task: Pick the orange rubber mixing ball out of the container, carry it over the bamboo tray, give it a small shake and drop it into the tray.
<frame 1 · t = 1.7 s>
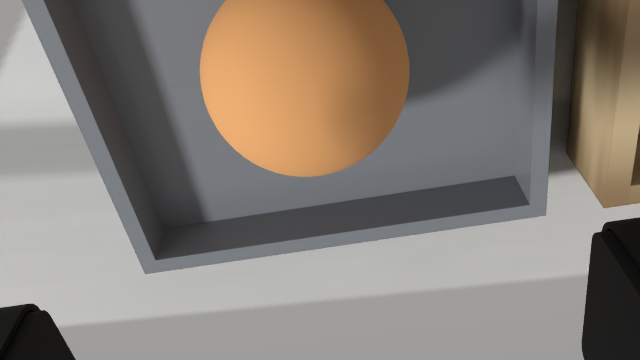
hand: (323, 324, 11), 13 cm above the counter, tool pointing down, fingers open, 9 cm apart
container: (304, 28, 21), on the counter
ball: (304, 35, 20), point 1 cm above the counter, touching container
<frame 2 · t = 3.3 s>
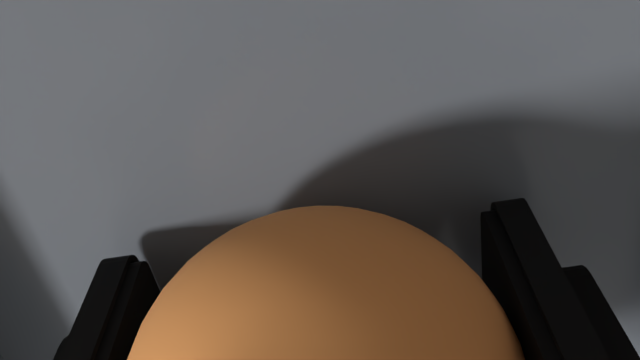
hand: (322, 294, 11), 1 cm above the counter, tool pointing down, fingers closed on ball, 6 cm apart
container: (320, 249, 12), on the counter
ball: (321, 269, 12), point 1 cm above the counter, touching container, gripper
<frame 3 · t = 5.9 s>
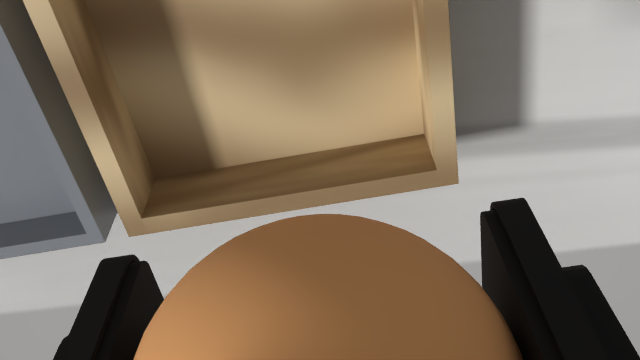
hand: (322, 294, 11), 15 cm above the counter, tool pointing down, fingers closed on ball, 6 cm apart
tray: (256, 20, 24), on the counter
ball: (322, 276, 12), point 15 cm above the counter, touching gripper
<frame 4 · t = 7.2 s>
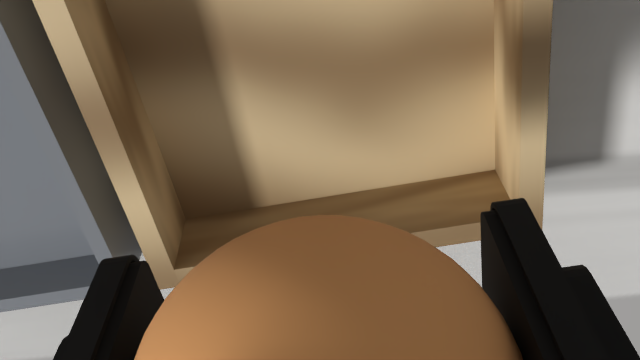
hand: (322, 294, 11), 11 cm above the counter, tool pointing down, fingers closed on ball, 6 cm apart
tray: (310, 41, 20), on the counter
ball: (322, 276, 12), point 11 cm above the counter, touching gripper
when the fingers open (4 cm above the counter, at t = 8.5 s): ball drops 2 cm, resting on tray.
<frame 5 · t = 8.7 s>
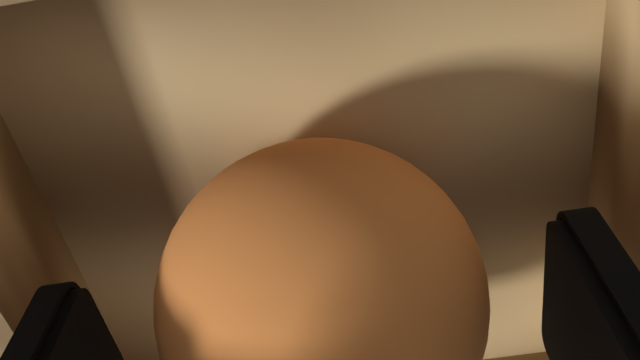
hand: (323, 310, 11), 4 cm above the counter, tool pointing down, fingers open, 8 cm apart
tray: (319, 187, 14), on the counter
ball: (317, 204, 14), point 1 cm above the counter, touching tray
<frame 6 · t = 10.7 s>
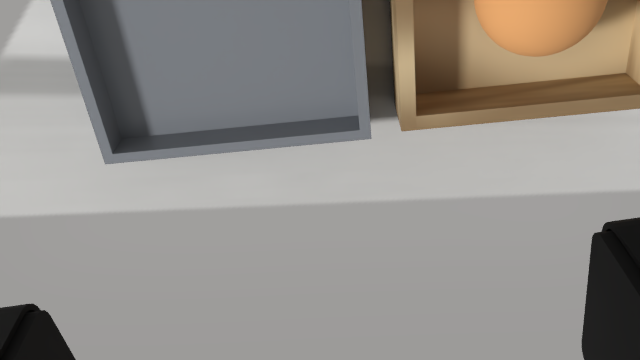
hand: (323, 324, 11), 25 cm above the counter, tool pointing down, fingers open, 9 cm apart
container: (216, 5, 33), on the counter
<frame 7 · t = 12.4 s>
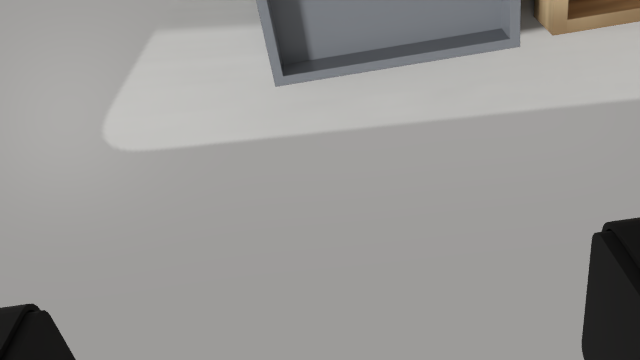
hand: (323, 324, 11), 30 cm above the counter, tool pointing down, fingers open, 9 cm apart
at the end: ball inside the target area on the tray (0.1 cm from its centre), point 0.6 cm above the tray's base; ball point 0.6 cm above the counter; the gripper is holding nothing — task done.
